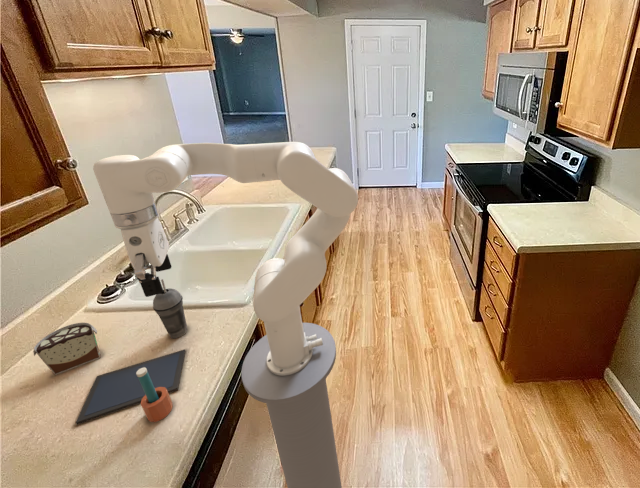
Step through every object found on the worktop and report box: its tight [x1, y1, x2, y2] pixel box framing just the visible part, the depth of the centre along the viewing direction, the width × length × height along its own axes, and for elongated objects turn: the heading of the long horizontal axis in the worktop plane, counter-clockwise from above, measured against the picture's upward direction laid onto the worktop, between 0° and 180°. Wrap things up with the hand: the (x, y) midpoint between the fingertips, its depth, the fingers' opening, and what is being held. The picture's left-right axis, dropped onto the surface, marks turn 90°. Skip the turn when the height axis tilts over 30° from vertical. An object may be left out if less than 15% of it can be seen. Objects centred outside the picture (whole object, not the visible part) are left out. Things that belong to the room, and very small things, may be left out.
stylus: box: [136, 367, 159, 403], centre depth 75 cm, size 2×2×13 cm
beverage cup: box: [152, 278, 188, 339], centre depth 97 cm, size 7×7×20 cm
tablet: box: [75, 349, 187, 425], centre depth 84 cm, size 20×13×1 cm, turn 114°
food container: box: [32, 322, 101, 376], centre depth 90 cm, size 12×6×10 cm, turn 125°
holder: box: [140, 387, 174, 423], centre depth 77 cm, size 5×5×5 cm
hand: (159, 281), depth 75 cm, fingers open, 9 cm apart
